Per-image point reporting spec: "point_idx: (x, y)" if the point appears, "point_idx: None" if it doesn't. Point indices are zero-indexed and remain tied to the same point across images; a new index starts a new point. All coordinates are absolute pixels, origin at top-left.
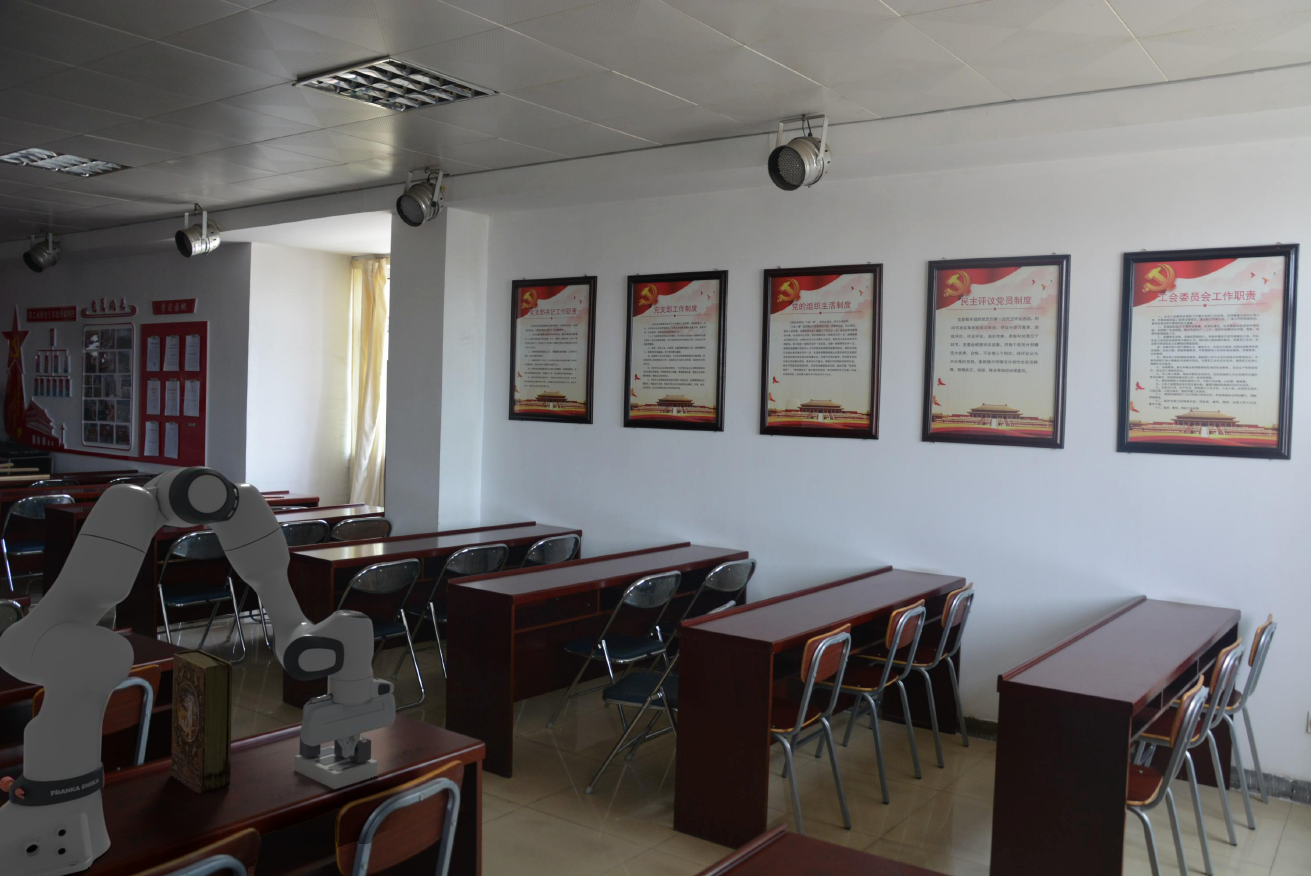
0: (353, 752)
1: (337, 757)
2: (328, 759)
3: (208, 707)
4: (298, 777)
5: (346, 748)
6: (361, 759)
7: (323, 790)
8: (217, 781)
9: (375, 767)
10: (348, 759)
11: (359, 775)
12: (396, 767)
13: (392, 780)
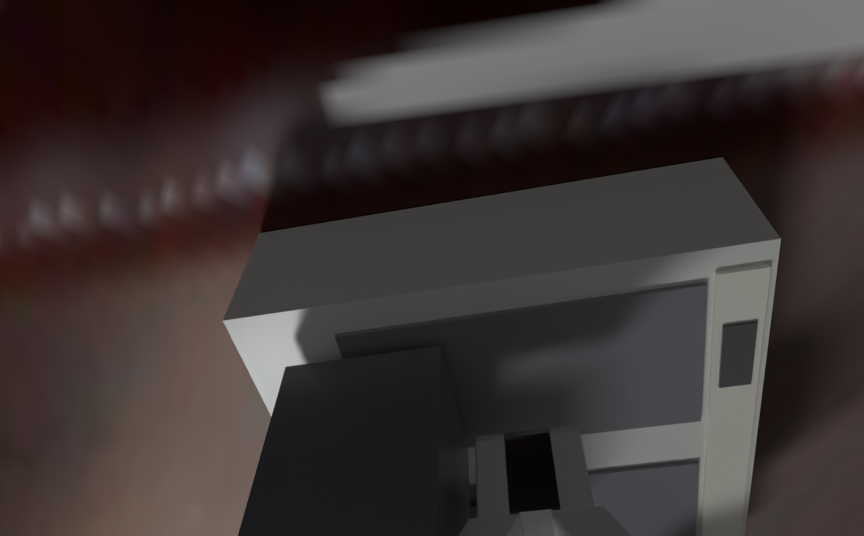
0: (490, 463)
1: None
2: None
3: None
4: (756, 473)
5: (612, 521)
6: (399, 371)
7: (808, 184)
8: None
9: (261, 279)
10: None
11: (447, 231)
12: (64, 301)
13: (149, 41)
